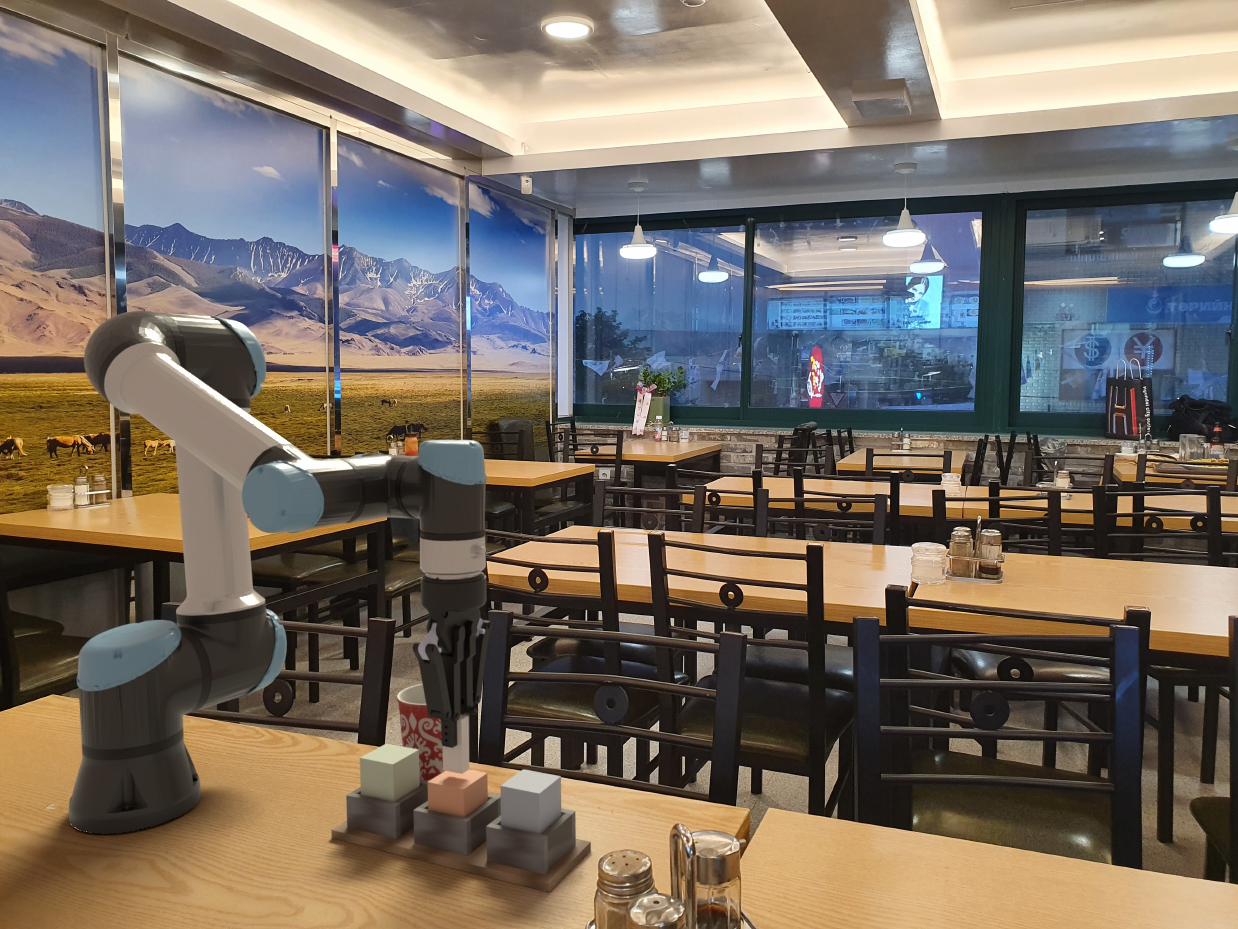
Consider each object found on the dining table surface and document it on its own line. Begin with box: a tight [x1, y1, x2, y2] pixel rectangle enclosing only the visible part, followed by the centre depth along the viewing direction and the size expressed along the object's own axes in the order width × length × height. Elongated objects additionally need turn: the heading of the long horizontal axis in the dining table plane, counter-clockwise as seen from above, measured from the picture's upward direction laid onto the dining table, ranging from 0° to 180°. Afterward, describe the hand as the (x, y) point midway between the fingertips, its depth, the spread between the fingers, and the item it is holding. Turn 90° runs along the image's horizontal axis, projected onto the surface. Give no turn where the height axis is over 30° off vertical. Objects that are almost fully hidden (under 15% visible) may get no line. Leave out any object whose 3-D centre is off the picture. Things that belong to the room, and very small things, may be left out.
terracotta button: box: [428, 769, 489, 818], centre depth 107 cm, size 5×5×6 cm
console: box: [330, 779, 592, 893], centre depth 108 cm, size 30×10×5 cm, turn 65°
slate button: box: [499, 769, 562, 834], centre depth 103 cm, size 5×5×6 cm
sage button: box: [359, 743, 420, 802], centre depth 112 cm, size 5×5×6 cm
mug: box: [396, 683, 445, 781], centre depth 124 cm, size 13×9×14 cm
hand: (456, 769), depth 107 cm, fingers closed
